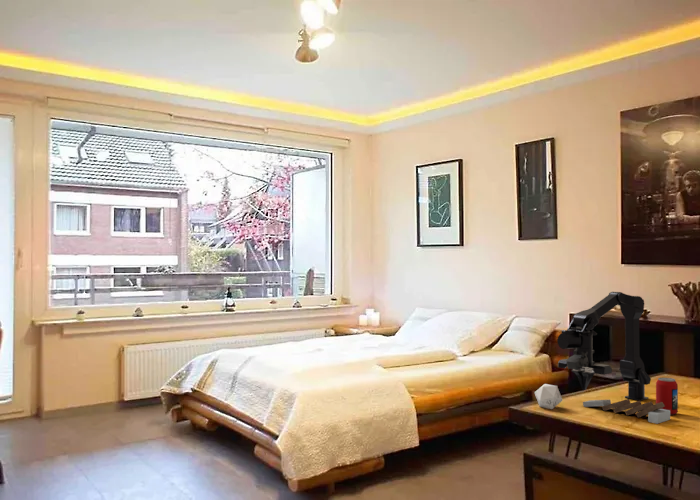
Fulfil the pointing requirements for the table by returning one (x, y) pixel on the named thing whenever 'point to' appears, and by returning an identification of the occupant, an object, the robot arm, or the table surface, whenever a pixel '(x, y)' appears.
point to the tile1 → (616, 404)
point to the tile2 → (627, 406)
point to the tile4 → (650, 409)
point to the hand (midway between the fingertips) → (584, 389)
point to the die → (548, 396)
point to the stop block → (659, 416)
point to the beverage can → (667, 394)
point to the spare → (596, 403)
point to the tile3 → (638, 408)
